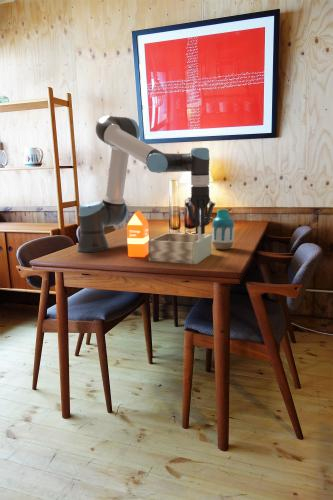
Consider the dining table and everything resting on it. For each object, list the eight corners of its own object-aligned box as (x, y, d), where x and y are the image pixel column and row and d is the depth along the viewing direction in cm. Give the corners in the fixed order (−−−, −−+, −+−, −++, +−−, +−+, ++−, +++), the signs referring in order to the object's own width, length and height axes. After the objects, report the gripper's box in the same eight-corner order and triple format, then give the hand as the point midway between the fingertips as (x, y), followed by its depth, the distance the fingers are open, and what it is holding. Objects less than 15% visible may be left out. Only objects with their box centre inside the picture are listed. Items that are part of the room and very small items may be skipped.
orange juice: (127, 256, 176) (125, 212, 172) (134, 252, 184) (132, 210, 180) (144, 257, 174) (142, 213, 170) (149, 252, 182) (148, 210, 178)
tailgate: (193, 263, 158) (194, 242, 156) (207, 253, 176) (208, 234, 174) (196, 263, 158) (197, 242, 156) (210, 253, 175) (211, 234, 173)
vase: (208, 248, 188) (207, 209, 184) (227, 246, 192) (227, 208, 188) (218, 252, 179) (218, 211, 175) (238, 250, 182) (238, 210, 178)
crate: (148, 261, 166) (148, 240, 164) (167, 251, 184) (166, 232, 182) (192, 264, 158) (192, 243, 156) (207, 254, 176) (207, 234, 174)
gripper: (182, 186, 160) (183, 242, 165) (212, 186, 155) (212, 243, 160) (188, 185, 166) (189, 239, 171) (217, 185, 161) (217, 240, 166)
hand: (200, 241), depth 165 cm, fingers closed
